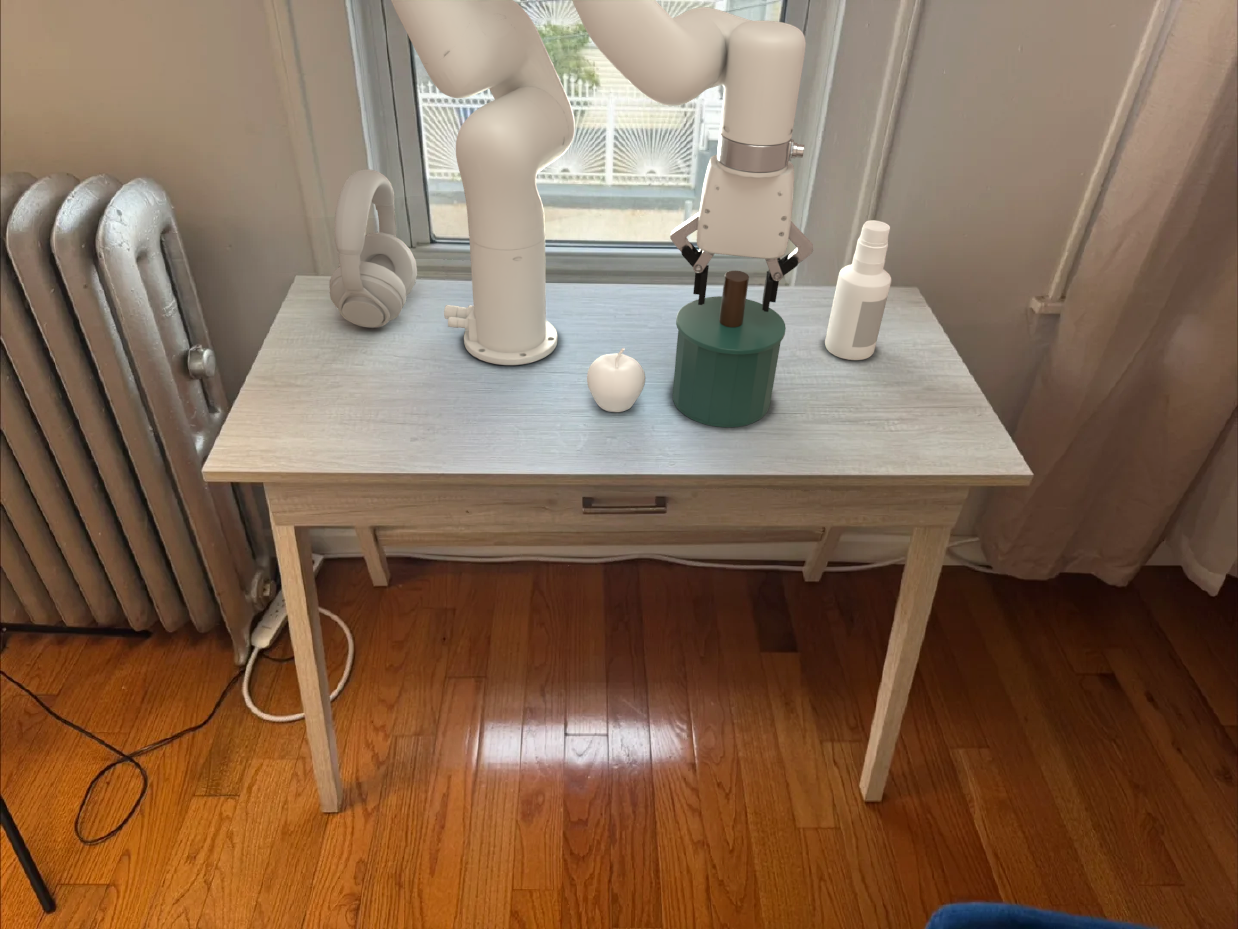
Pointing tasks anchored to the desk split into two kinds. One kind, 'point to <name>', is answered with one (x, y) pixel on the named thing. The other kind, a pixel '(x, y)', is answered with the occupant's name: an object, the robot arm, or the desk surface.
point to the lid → (731, 321)
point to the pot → (723, 384)
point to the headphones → (369, 254)
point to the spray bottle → (860, 296)
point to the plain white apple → (615, 381)
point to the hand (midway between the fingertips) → (733, 301)
